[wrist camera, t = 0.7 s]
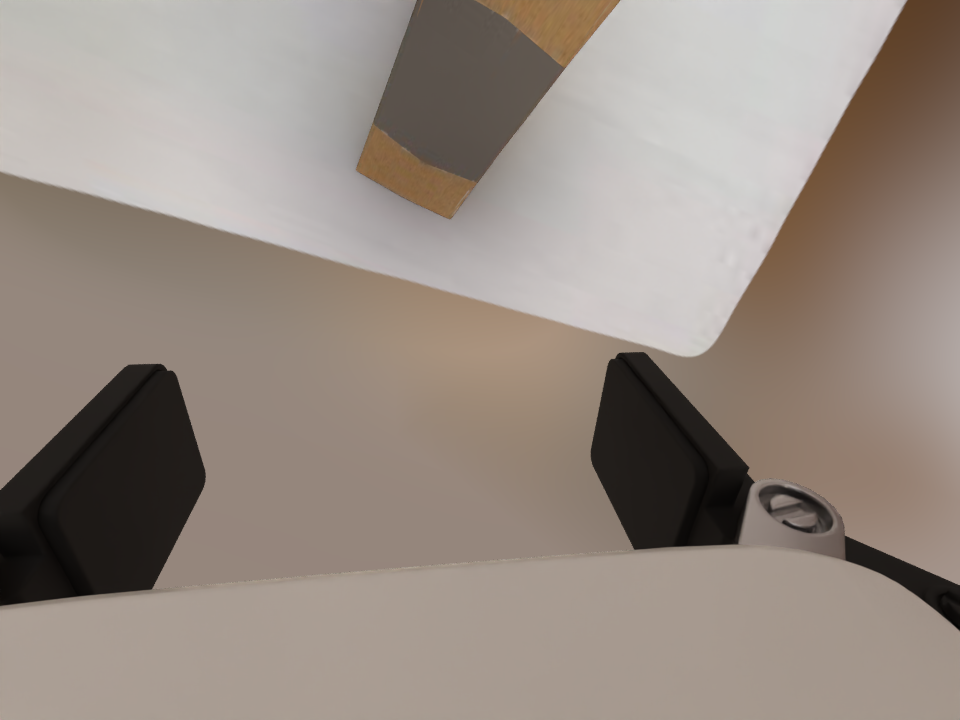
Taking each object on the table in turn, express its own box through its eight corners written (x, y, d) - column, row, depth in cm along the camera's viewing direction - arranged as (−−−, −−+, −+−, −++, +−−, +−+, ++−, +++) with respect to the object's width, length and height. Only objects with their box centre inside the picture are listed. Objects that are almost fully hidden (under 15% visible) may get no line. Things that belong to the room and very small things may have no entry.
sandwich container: (351, 170, 37) (320, 208, 24) (441, -54, 31) (467, -166, 18) (451, 222, 40) (474, 282, 26) (550, 26, 34) (641, -22, 21)
